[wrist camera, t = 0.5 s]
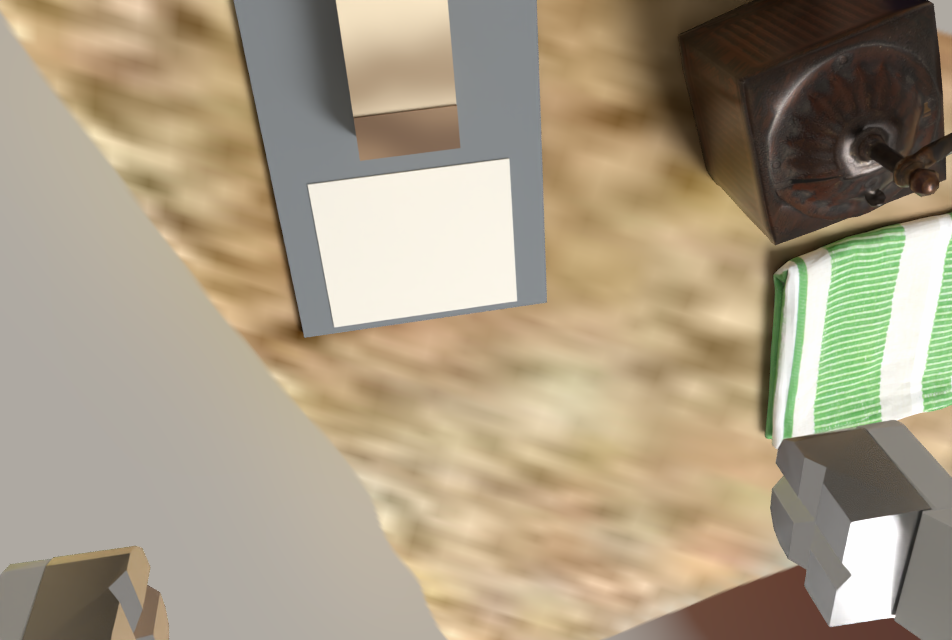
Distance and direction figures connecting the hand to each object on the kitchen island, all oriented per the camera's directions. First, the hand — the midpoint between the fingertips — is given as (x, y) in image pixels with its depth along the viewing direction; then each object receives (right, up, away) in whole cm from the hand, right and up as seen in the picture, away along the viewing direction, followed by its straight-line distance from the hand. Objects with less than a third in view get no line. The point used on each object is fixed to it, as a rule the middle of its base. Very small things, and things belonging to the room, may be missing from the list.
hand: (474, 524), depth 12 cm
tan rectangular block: (-4, +17, +38) cm, 42 cm away
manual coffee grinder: (+20, +18, +43) cm, 51 cm away
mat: (-4, +13, +42) cm, 44 cm away
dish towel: (+33, +3, +56) cm, 65 cm away
